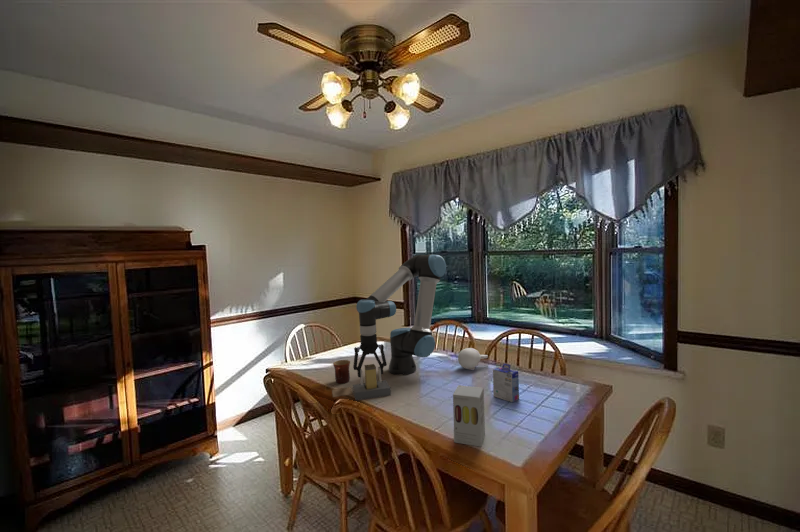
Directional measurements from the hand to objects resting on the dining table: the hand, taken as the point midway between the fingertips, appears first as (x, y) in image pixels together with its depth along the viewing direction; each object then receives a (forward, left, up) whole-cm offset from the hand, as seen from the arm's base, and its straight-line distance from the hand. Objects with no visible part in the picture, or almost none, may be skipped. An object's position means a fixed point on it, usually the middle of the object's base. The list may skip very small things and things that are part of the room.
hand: (370, 382), depth 167 cm
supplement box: (-26, +50, -6) cm, 57 cm away
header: (0, 0, -6) cm, 6 cm away
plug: (0, 0, -5) cm, 5 cm away
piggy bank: (-59, -16, -6) cm, 61 cm away
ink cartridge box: (-55, +25, -6) cm, 61 cm away
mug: (+12, -20, -6) cm, 24 cm away
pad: (+13, -7, -6) cm, 16 cm away
